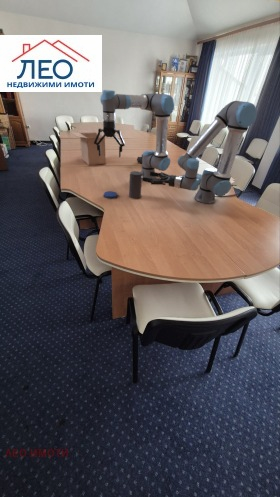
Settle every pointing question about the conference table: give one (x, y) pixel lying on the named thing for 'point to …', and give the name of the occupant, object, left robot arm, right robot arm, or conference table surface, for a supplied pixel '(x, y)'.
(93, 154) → the box
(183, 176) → the book
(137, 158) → the laser sight
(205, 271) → the conference table surface
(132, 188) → the jar
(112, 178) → the conference table surface
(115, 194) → the lid
